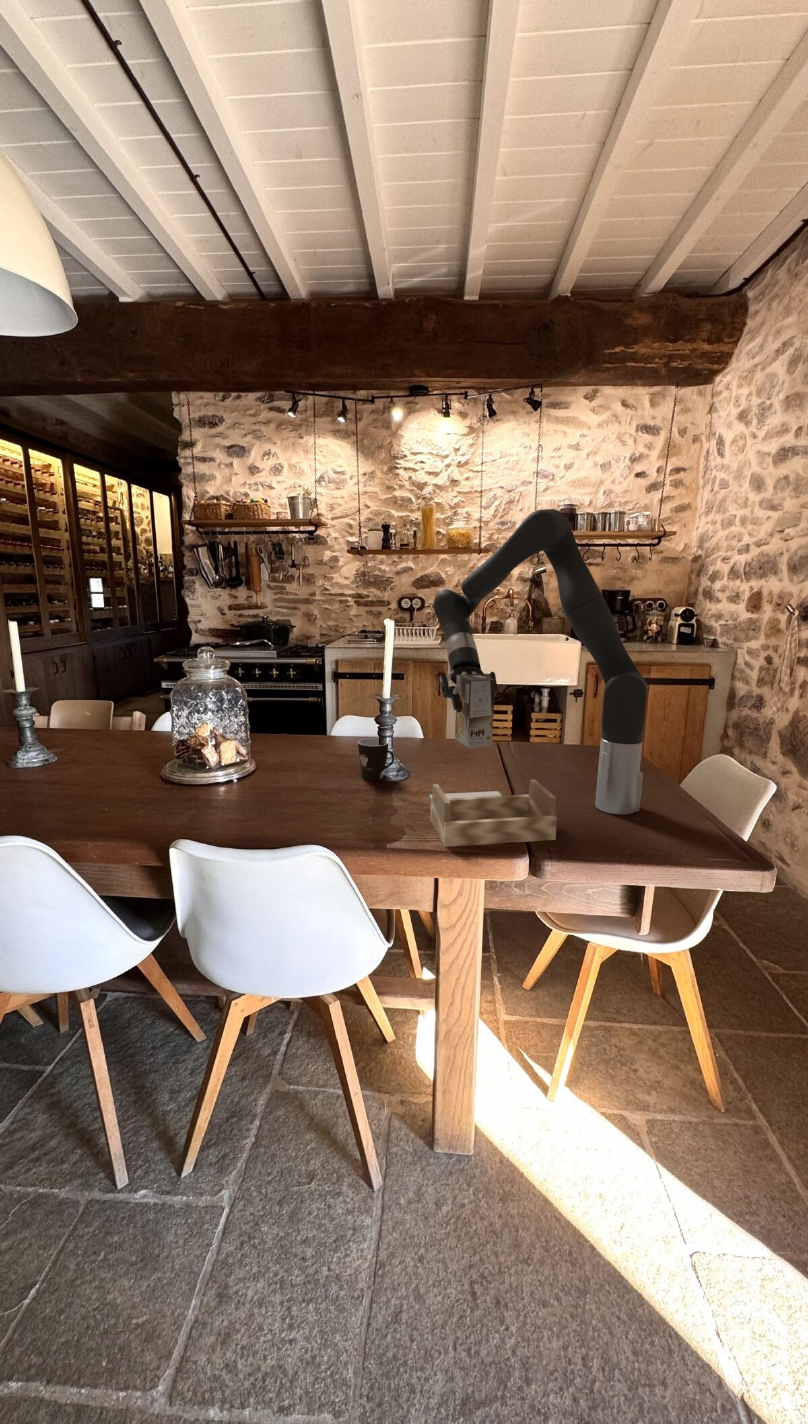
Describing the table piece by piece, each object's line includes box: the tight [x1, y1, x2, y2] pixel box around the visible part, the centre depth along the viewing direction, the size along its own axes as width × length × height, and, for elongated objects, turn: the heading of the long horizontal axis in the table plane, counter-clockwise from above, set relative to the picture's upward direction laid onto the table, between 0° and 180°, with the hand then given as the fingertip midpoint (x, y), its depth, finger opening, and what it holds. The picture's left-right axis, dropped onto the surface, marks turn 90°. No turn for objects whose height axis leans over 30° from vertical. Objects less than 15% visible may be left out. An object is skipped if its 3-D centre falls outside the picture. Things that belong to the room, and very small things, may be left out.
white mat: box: [429, 790, 503, 800], centre depth 144 cm, size 18×12×1 cm, turn 100°
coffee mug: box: [357, 737, 395, 781], centre depth 160 cm, size 12×9×10 cm
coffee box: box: [454, 674, 495, 749], centre depth 139 cm, size 9×6×16 cm
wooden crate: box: [430, 779, 558, 848], centre depth 127 cm, size 24×14×9 cm, turn 100°
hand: (474, 710), depth 139 cm, fingers closed on coffee box, 7 cm apart
